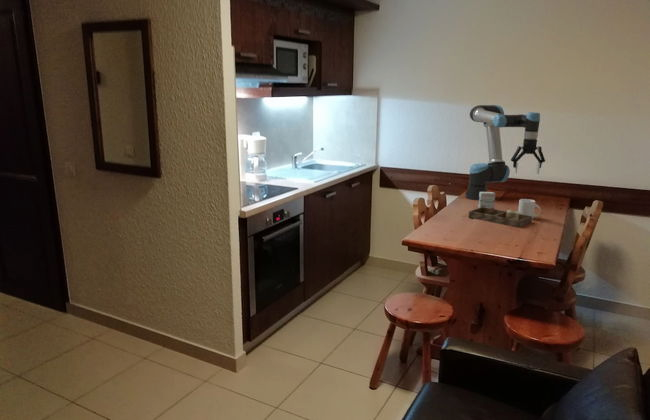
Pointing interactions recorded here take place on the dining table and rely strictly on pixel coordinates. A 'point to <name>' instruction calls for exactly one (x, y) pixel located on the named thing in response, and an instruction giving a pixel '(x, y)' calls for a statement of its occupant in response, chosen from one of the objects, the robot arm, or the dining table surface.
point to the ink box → (486, 199)
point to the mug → (528, 207)
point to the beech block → (512, 215)
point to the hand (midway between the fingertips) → (526, 173)
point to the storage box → (498, 217)
